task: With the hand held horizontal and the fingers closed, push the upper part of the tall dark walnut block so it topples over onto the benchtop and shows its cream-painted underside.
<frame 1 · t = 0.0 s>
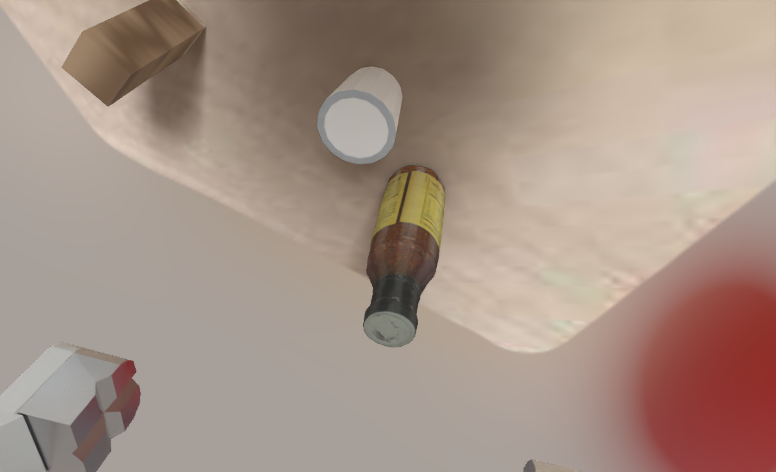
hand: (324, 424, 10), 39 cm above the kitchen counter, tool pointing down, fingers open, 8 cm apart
sauce bottle: (419, 186, 53), on the kitchen counter
walnut block: (177, 23, 46), on the kitchen counter
white tapered cylinder: (373, 95, 47), on the kitchen counter
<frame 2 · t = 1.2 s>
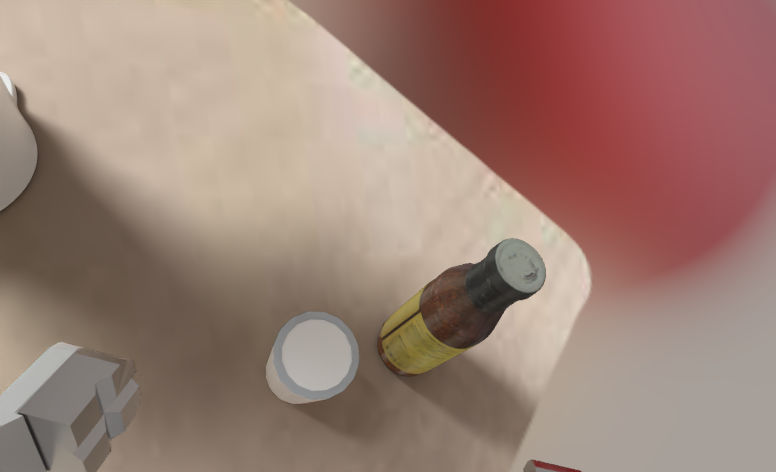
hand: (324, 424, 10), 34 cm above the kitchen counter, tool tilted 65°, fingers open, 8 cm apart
sauce bottle: (402, 344, 49), on the kitchen counter
white tapered cylinder: (297, 371, 44), on the kitchen counter
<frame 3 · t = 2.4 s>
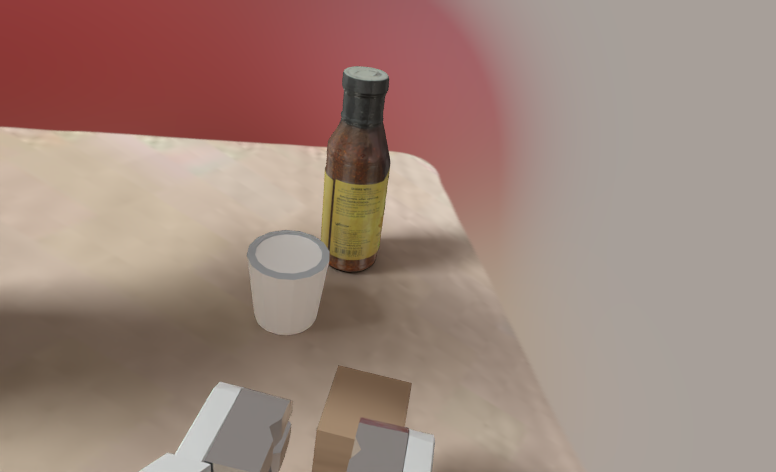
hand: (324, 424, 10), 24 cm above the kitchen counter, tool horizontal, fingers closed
sauce bottle: (346, 257, 54), on the kitchen counter
white tapered cylinder: (286, 314, 46), on the kitchen counter
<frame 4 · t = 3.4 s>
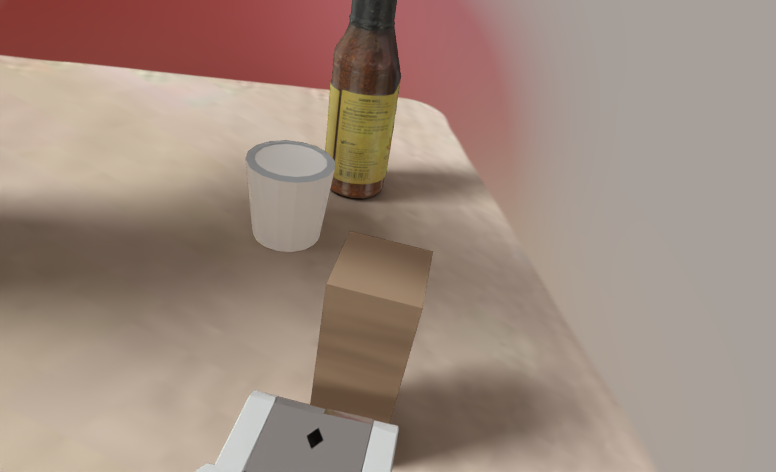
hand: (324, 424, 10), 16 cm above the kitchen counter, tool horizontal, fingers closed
sauce bottle: (351, 186, 51), on the kitchen counter
walnut block: (348, 428, 29), on the kitchen counter
white tapered cylinder: (286, 233, 43), on the kitchen counter
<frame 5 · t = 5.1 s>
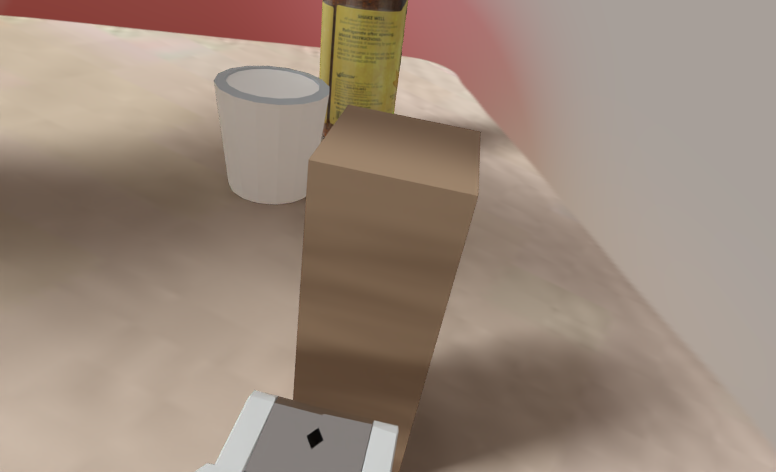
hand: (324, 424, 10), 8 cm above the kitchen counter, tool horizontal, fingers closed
sauce bottle: (351, 138, 43), on the kitchen counter
walnut block: (354, 421, 20), on the kitchen counter
white tapered cylinder: (271, 185, 34), on the kitchen counter
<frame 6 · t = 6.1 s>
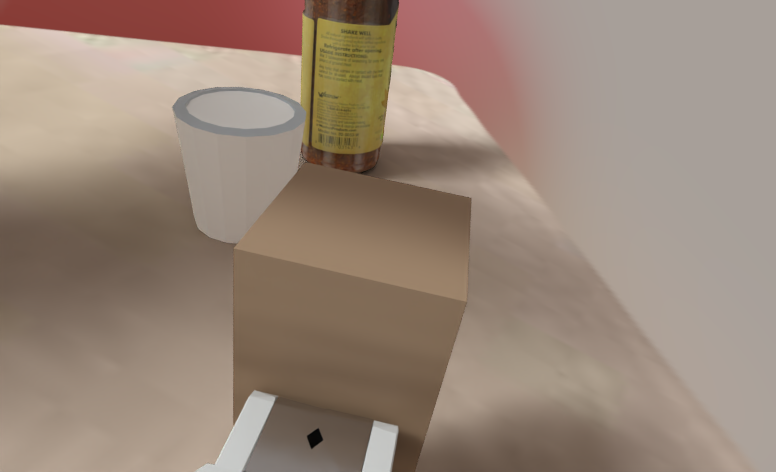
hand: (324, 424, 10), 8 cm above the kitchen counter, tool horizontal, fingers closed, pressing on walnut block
sauce bottle: (337, 160, 39), on the kitchen counter
white tapered cylinder: (243, 219, 31), on the kitchen counter
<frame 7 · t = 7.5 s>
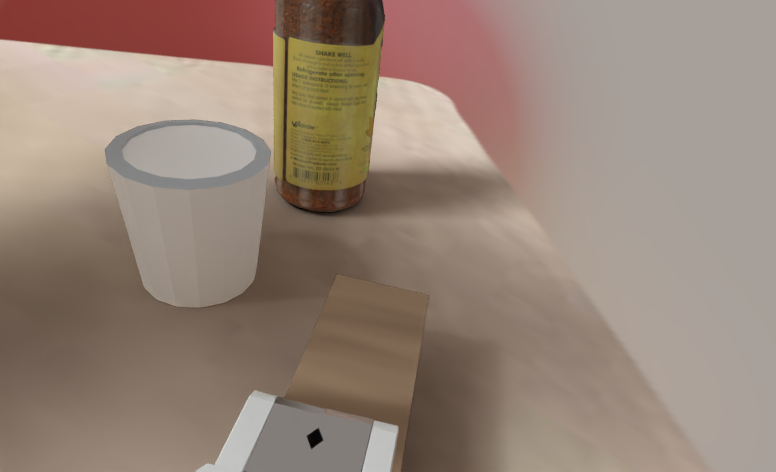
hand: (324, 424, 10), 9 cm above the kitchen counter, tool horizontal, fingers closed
sauce bottle: (317, 193, 34), on the kitchen counter
white tapered cylinder: (201, 273, 26), on the kitchen counter
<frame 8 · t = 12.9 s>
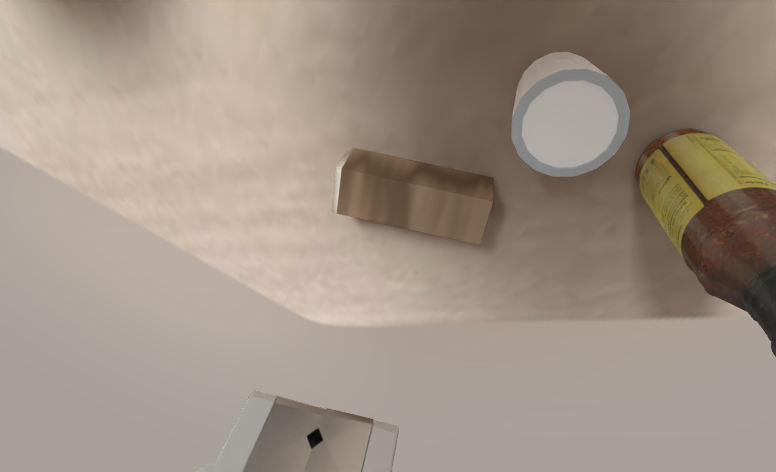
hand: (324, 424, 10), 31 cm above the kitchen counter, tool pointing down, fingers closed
sauce bottle: (679, 161, 37), on the kitchen counter
walnut block: (340, 179, 40), point 2 cm above the kitchen counter, tilted 90°
white tapered cylinder: (556, 91, 36), on the kitchen counter
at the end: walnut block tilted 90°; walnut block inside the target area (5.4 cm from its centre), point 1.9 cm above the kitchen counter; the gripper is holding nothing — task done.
